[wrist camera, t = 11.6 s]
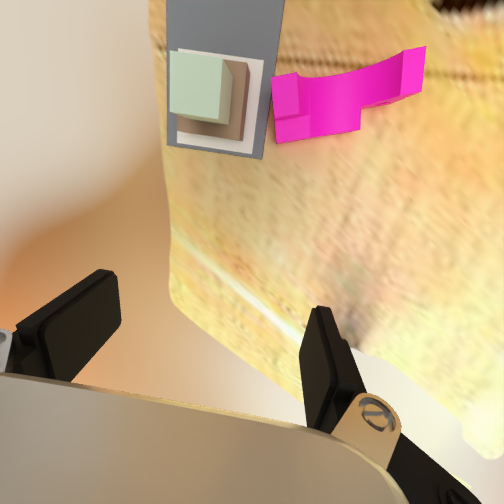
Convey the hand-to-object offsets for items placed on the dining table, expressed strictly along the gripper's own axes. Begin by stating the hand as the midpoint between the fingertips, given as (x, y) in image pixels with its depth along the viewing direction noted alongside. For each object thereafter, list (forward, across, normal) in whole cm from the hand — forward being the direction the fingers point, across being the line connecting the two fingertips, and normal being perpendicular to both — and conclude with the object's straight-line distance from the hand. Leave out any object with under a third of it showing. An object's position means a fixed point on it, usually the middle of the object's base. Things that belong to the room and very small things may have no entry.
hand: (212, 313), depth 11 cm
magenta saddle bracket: (+29, -8, -14) cm, 33 cm away
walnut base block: (+28, +7, -12) cm, 31 cm away
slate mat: (+28, +7, -17) cm, 34 cm away
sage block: (+24, +7, -12) cm, 28 cm away
